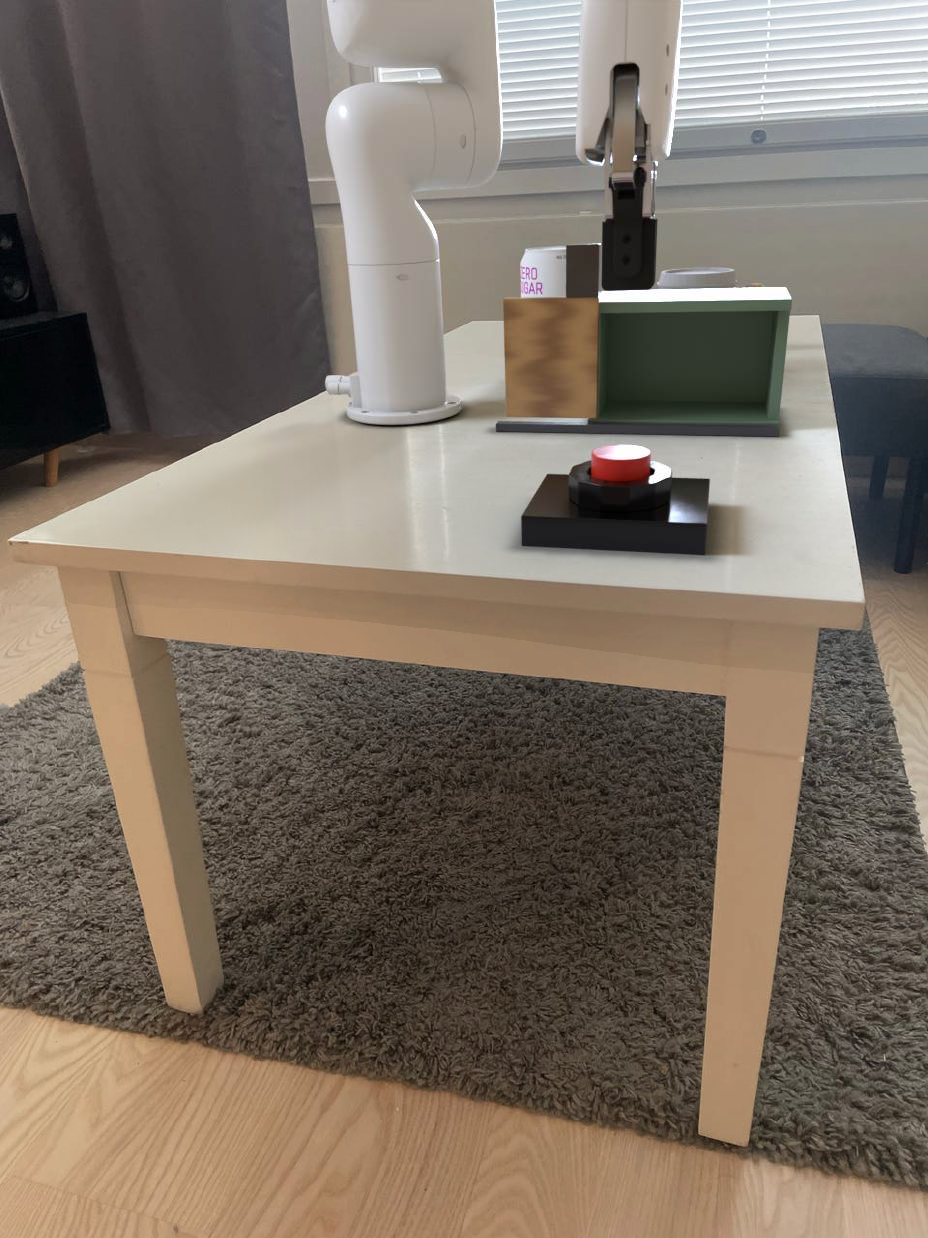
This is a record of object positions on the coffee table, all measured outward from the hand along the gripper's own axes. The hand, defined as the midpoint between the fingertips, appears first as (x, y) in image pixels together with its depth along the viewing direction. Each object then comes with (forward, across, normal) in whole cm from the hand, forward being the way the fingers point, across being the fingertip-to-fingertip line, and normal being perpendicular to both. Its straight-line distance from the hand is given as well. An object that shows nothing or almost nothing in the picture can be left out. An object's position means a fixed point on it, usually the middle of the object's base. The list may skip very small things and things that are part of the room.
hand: (628, 288), depth 57 cm
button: (+12, 0, 0) cm, 12 cm away
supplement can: (+15, -60, -15) cm, 64 cm away
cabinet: (+16, -33, -2) cm, 36 cm away
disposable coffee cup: (+16, -59, +3) cm, 61 cm away
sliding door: (+14, -28, -10) cm, 33 cm away
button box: (+16, 0, 0) cm, 16 cm away
